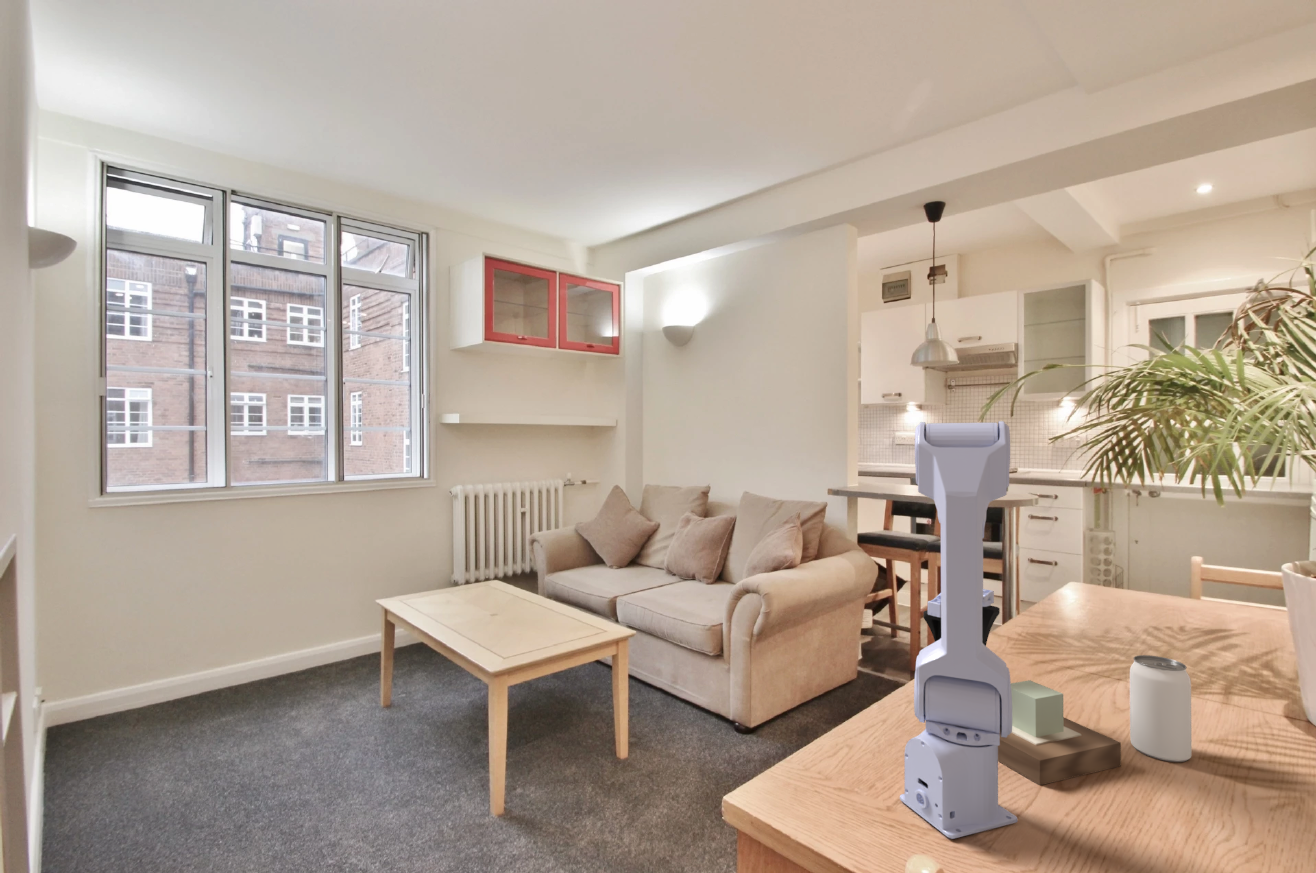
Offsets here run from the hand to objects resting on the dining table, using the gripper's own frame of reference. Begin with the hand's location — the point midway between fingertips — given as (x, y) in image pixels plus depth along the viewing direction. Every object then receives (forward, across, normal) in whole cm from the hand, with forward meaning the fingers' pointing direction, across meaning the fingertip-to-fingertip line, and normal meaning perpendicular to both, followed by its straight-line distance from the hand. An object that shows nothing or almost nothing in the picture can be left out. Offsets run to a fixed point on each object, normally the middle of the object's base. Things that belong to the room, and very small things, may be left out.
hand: (962, 657), depth 94 cm
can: (+10, +13, -20) cm, 26 cm away
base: (+9, -1, -10) cm, 14 cm away
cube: (+6, -1, -10) cm, 12 cm away
